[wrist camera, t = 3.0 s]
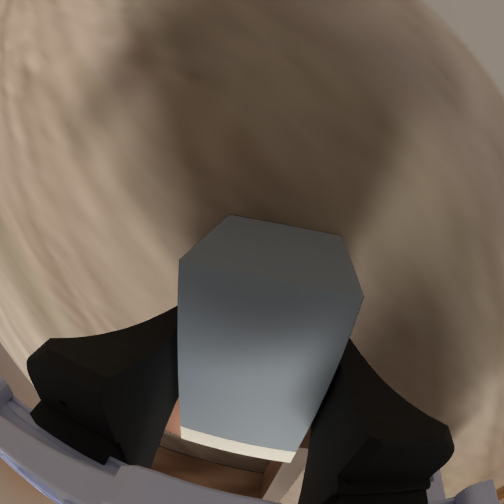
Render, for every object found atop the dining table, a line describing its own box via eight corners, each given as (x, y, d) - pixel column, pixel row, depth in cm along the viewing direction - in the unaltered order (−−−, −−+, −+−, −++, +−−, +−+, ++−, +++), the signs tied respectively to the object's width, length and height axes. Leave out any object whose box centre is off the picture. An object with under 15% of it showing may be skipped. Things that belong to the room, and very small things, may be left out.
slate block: (341, 235, 11) (364, 296, 6) (298, 382, 14) (290, 463, 9) (229, 214, 12) (178, 259, 7) (213, 364, 14) (181, 438, 10)
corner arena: (317, 398, 14) (316, 449, 11) (275, 481, 18) (269, 514, 15) (57, 320, 16) (25, 347, 13) (91, 421, 20) (74, 446, 17)
